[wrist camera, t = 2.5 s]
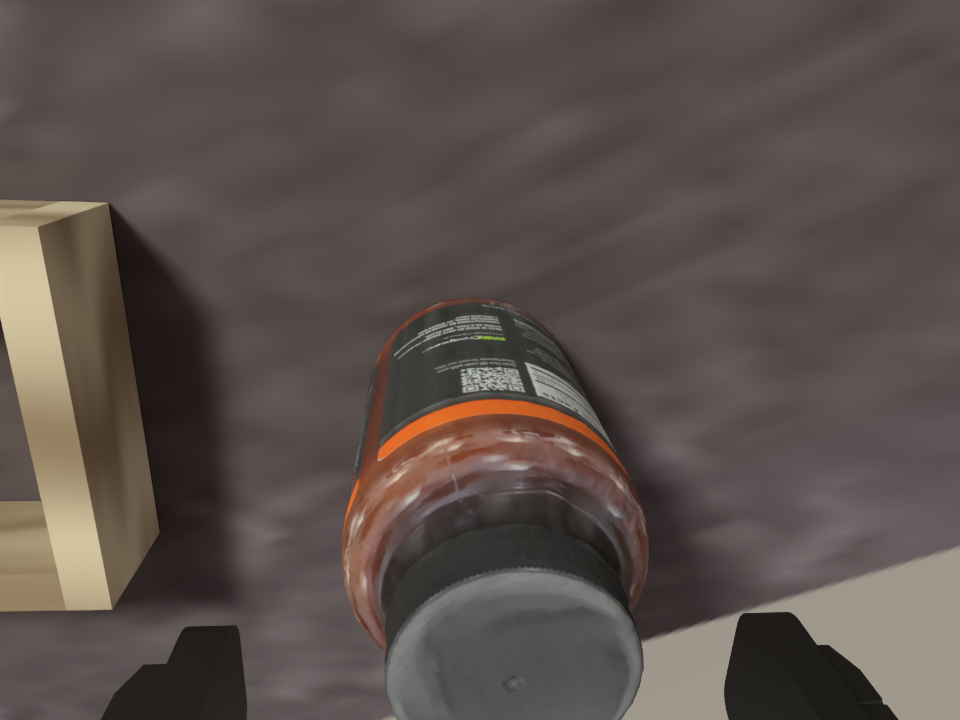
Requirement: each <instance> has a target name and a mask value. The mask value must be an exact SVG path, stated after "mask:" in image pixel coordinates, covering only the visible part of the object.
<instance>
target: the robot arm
mask: <svg viewBox="0 0 960 720" xmlns="http://www.w3.org/2000/svg"><path fill="white" fill-rule="evenodd" d="M724 698H725V705H726V711H727V715H728V718H729V720H898V719H897V717H896V716H895V715H894V713H893V712H892V711H891V710H890V708H889V707H888V706H887V705H884V704H883V702H882V698H881V697H880V695H879V694H878V693H877V691H876V690H875V689H874V687H873V686H872V685H871V683H870V682H869V681H868V680H867V678H866V677H865V676H864V674H863V673H862V672H861V670H860V669H858V668H857V667H856V666H855V665H853V664H852V663H851V662H850V661H848V660H847V659H846V658H844V657H843V656H842V655H841V654H839V653H838V652H836V651H835V650H834V649H833V648H832V647H830V646H829V645H817V644H816V643H815V642H814V640H813V639H812V638H811V636H810V635H809V633H808V632H807V631H806V629H805V628H804V626H803V625H802V624H801V622H800V621H799V620H798V618H797V617H796V616H795V615H793V614H792V613H789V612H776V613H775V612H774V613H773V612H772V613H744V614H742V615H741V616H740V618H739V620H738V623H737V628H736V632H735V637H734V642H733V647H732V652H731V656H730V661H729V666H728V670H727V675H726V680H725V686H724ZM246 718H247V697H246V688H245V679H244V670H243V661H242V652H241V643H240V635H239V630H238V628H237V626H235V625H232V626H195V627H185V628H184V629H183V630H182V632H181V634H180V635H179V638H178V640H177V642H176V644H175V646H174V649H173V651H172V653H171V655H170V657H169V660H168V662H167V664H152V665H143V666H142V667H141V668H140V669H139V670H138V671H137V672H136V673H135V674H134V675H133V676H132V677H131V678H130V679H129V680H128V681H127V682H126V683H125V684H124V685H123V686H122V687H121V688H120V689H119V690H118V691H117V692H116V693H115V694H114V695H113V697H112V699H111V701H110V703H109V705H108V707H107V709H106V711H105V713H104V715H103V717H102V719H101V720H246Z"/></svg>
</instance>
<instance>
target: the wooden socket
mask: <svg viewBox="0 0 960 720" xmlns="http://www.w3.org/2000/svg"><path fill="white" fill-rule="evenodd" d="M0 319H1V323H2V328H3V332H4V336H5V341H6V345H7V350H8V354H9V359H10V363H11V367H12V372H13V376H14V381H15V385H16V390H17V394H18V399H19V403H20V407H21V412H22V416H23V421H24V425H25V430H26V434H27V438H28V443H29V447H30V452H31V456H32V461H33V465H34V469H35V474H36V478H37V483H38V487H39V492H40V496H41V501H0V611H60V610H112V609H113V608H114V606H115V604H116V603H117V601H118V600H119V598H120V596H121V595H122V593H123V591H124V590H125V588H126V587H127V585H128V583H129V582H130V580H131V579H132V577H133V575H134V574H135V572H136V570H137V569H138V567H139V566H140V564H141V562H142V561H143V559H144V557H145V556H146V554H147V553H148V551H149V549H150V548H151V546H152V545H153V543H154V541H155V540H156V538H157V536H158V535H159V533H160V532H159V525H158V519H157V512H156V506H155V500H154V493H153V487H152V480H151V474H150V467H149V461H148V455H147V448H146V442H145V435H144V429H143V423H142V416H141V410H140V403H139V397H138V391H137V384H136V378H135V371H134V365H133V359H132V352H131V346H130V339H129V333H128V326H127V320H126V314H125V307H124V301H123V294H122V288H121V282H120V275H119V269H118V262H117V256H116V250H115V243H114V237H113V230H112V224H111V217H110V211H109V205H108V203H100V202H64V201H28V200H0Z"/></svg>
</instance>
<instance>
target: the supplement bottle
mask: <svg viewBox="0 0 960 720" xmlns="http://www.w3.org/2000/svg"><path fill="white" fill-rule="evenodd" d="M648 562H649V537H648V528H647V523H646V519H645V515H644V512H643V506H642V504H641V502H640V499H639V496H638V494H637V492H636V490H635V488H634V485H633V484H632V482H631V480H630V478H629V476H628V474H627V472H626V471H625V469H624V467H623V465H622V462H621V460H620V458H619V457H618V455H617V453H616V451H615V449H614V448H613V446H612V444H611V442H610V440H609V438H608V436H607V434H606V433H605V431H604V429H603V427H602V425H601V423H600V421H599V420H598V418H597V416H596V414H595V412H594V410H593V408H592V406H591V405H590V403H589V401H588V399H587V397H586V395H585V393H584V391H583V389H582V387H581V385H580V384H579V382H578V380H577V378H576V376H575V374H574V372H573V370H572V368H571V367H570V365H569V363H568V361H567V359H566V356H565V355H564V353H563V351H562V349H561V348H560V347H559V346H558V344H557V343H556V341H555V340H554V339H553V337H552V336H551V334H550V333H549V332H548V331H547V329H546V328H545V327H544V326H543V325H542V324H541V323H539V322H538V321H537V320H536V319H534V318H533V317H531V316H530V315H529V314H527V313H525V312H524V311H523V310H521V309H519V308H517V307H515V306H512V305H510V304H508V303H505V302H498V301H494V300H490V299H482V298H460V299H455V300H450V301H445V302H441V303H438V304H436V305H434V306H430V307H428V308H426V309H424V310H422V311H420V312H418V313H417V314H415V315H414V316H412V317H411V318H410V319H408V320H407V321H406V322H405V323H404V324H403V325H401V326H400V327H399V328H398V329H397V331H396V332H395V333H394V334H393V335H392V336H391V338H390V339H389V340H388V342H387V343H386V345H385V346H384V348H383V350H382V351H381V353H380V355H379V357H378V359H377V362H376V364H375V368H374V371H373V373H372V376H371V382H370V386H369V391H368V398H367V402H366V407H365V414H364V419H363V425H362V430H361V434H360V440H359V446H358V451H357V457H356V463H355V468H354V473H353V478H352V483H351V488H350V494H349V499H348V504H347V509H346V518H345V524H344V529H343V535H342V571H343V581H344V585H345V588H346V592H347V596H348V599H349V602H350V604H351V606H352V609H353V612H354V614H355V616H356V619H357V620H358V621H359V622H360V624H361V625H362V627H363V628H364V630H365V632H366V634H367V635H368V636H369V637H370V638H371V639H372V640H373V641H374V642H375V643H376V644H377V645H378V646H379V647H380V648H381V649H382V650H383V651H384V653H385V654H386V655H385V688H386V694H387V698H388V701H389V704H390V706H391V709H392V711H393V714H394V716H395V717H396V719H397V720H621V719H622V717H623V716H624V714H625V713H626V711H627V710H628V709H629V707H630V706H631V705H632V703H633V701H634V698H635V696H636V694H637V691H638V688H639V686H640V682H641V676H642V672H643V669H644V666H643V651H642V645H641V641H640V637H639V633H638V630H637V627H636V624H635V622H634V619H633V617H632V615H631V613H632V612H633V610H634V607H635V606H636V604H637V602H638V600H639V598H640V595H641V591H642V588H643V585H644V582H645V581H646V574H647V571H648Z"/></svg>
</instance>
